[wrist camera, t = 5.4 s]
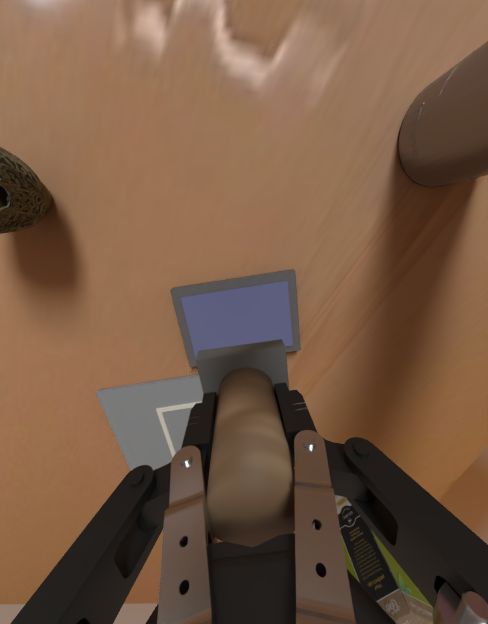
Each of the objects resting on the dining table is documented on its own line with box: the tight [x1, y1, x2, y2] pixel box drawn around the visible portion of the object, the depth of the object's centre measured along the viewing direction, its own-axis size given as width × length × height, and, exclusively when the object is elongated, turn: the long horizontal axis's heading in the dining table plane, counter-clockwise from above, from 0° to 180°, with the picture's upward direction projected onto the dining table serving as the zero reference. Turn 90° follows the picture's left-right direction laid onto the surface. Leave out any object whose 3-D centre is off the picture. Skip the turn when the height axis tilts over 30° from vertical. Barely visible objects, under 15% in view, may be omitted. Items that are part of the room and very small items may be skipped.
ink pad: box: [170, 269, 301, 367], centre depth 27 cm, size 14×10×2 cm
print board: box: [96, 374, 203, 471], centre depth 33 cm, size 24×18×1 cm
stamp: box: [196, 339, 295, 547], centre depth 12 cm, size 6×6×8 cm
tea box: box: [294, 495, 434, 624], centre depth 34 cm, size 15×10×15 cm, turn 138°
